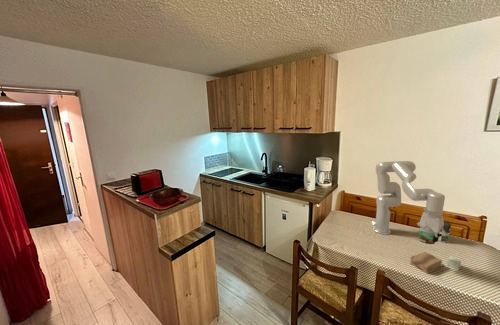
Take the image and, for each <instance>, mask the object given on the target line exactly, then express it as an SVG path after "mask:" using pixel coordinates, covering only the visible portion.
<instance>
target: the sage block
mask: <svg viewBox="0 0 500 325" xmlns="http://www.w3.org/2000/svg"><path fill="white" fill-rule="evenodd" d="M461 264H462V260H461V259H459V258H457V257H454V256H451V255H450V256H449V257H448V259H447V264H446V266H447V267H449V268H452V269H454V270H456V271H459V269H460V268H461Z"/></svg>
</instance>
